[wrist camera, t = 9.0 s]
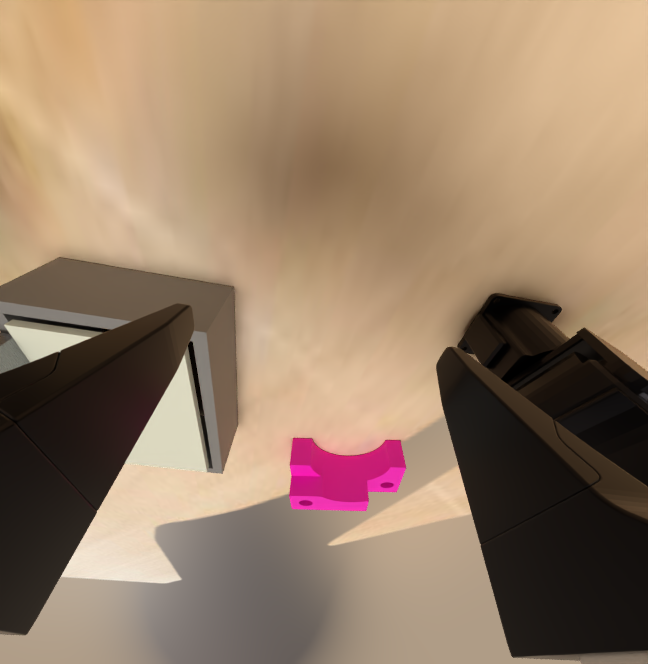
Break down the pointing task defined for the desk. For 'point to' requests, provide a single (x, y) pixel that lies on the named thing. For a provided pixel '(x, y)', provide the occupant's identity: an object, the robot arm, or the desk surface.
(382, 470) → the magenta saddle bracket
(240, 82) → the desk surface
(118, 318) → the hatch box
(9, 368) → the trapdoor
